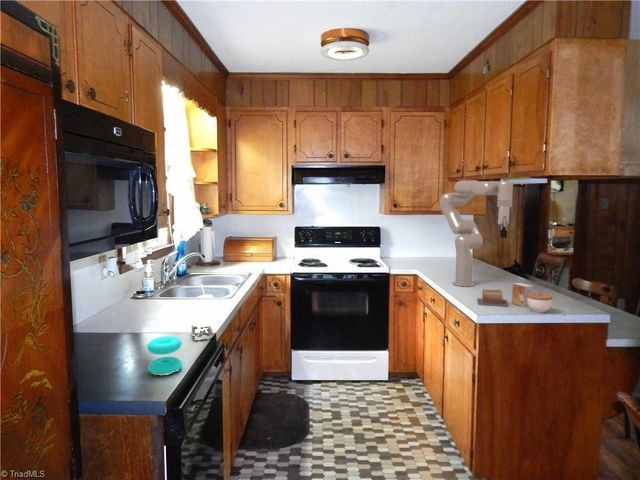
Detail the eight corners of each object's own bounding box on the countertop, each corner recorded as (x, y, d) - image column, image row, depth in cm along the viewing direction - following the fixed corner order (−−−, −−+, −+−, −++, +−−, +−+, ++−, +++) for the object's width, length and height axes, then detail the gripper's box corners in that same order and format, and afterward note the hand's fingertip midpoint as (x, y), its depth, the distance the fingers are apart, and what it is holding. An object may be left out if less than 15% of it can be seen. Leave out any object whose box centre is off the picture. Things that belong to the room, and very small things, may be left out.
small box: (511, 303, 218) (512, 283, 217) (520, 302, 220) (520, 282, 219) (524, 307, 211) (525, 286, 210) (532, 306, 213) (533, 285, 211)
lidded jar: (550, 315, 196) (551, 295, 195) (525, 312, 201) (525, 292, 200) (552, 310, 205) (553, 291, 204) (527, 307, 210) (528, 288, 209)
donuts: (187, 335, 137) (170, 346, 127) (188, 366, 138) (172, 378, 128) (158, 334, 139) (140, 344, 129) (159, 364, 140) (141, 376, 130)
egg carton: (191, 334, 171) (190, 324, 170) (210, 332, 173) (210, 322, 173) (193, 343, 161) (192, 332, 160) (213, 340, 163) (213, 330, 163)
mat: (477, 299, 227) (477, 298, 227) (505, 301, 223) (505, 300, 223) (478, 304, 216) (478, 303, 216) (508, 306, 211) (508, 305, 211)
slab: (482, 289, 228) (483, 293, 217) (500, 290, 225) (502, 295, 214) (482, 297, 228) (483, 302, 217) (500, 298, 226) (502, 304, 214)
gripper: (496, 203, 242) (495, 236, 244) (498, 204, 228) (497, 238, 230) (510, 203, 240) (509, 236, 241) (513, 204, 225) (512, 238, 227)
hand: (503, 237), depth 235 cm, fingers closed
